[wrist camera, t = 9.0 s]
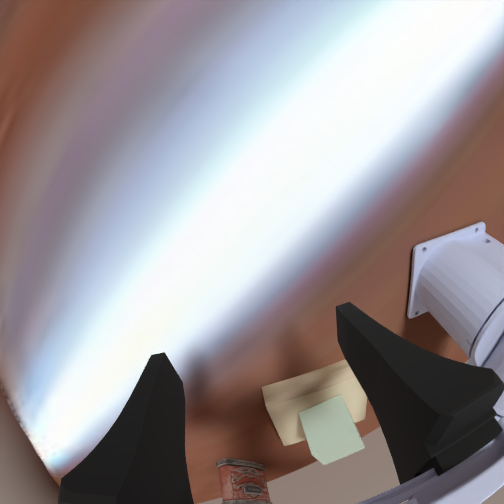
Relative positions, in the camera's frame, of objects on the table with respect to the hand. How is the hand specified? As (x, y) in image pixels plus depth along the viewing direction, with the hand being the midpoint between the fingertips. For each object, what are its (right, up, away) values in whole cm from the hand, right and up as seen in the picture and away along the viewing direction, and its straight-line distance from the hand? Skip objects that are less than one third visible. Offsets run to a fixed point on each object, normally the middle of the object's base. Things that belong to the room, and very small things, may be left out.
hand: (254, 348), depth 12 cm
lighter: (-2, -27, +24) cm, 36 cm away
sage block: (+7, -13, +15) cm, 21 cm away
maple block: (+7, -12, +18) cm, 23 cm away
